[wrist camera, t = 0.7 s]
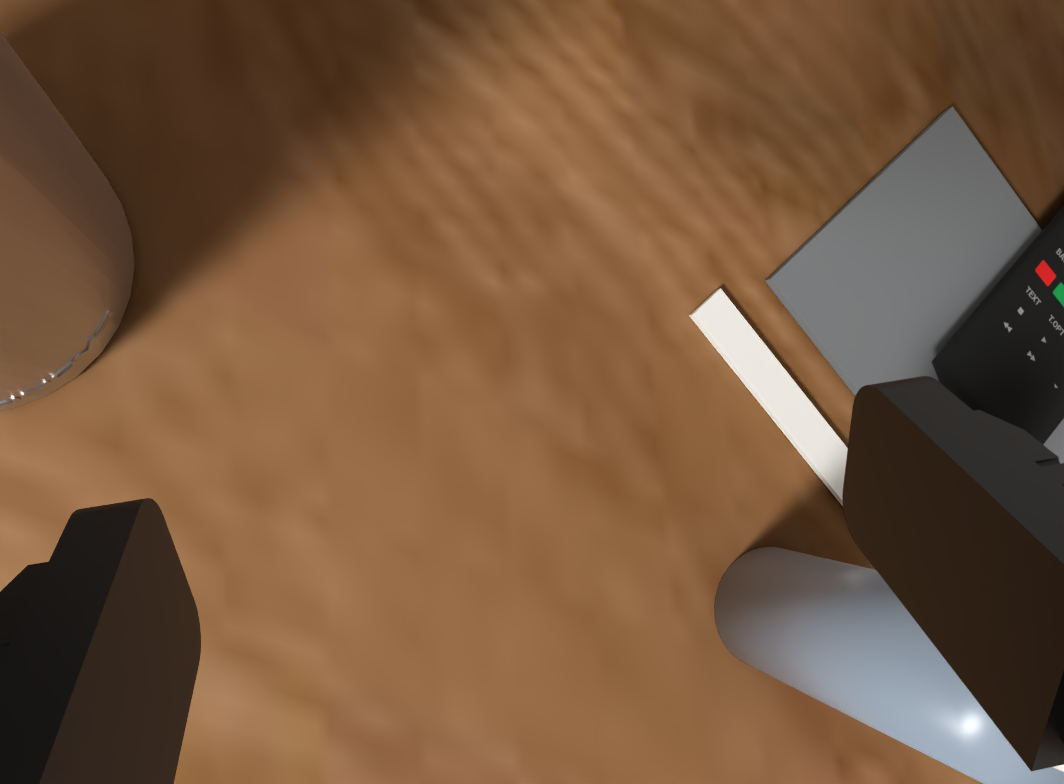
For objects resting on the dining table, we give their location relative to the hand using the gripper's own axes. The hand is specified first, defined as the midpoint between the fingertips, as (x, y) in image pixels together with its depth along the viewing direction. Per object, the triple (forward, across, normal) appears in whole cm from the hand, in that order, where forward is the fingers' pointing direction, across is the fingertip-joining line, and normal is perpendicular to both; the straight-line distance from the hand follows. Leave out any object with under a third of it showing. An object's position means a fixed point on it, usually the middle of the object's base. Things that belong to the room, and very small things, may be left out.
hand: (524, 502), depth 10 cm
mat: (+19, -21, +12) cm, 31 cm away
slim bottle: (+14, -10, +17) cm, 25 cm away
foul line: (+16, -14, +15) cm, 27 cm away
